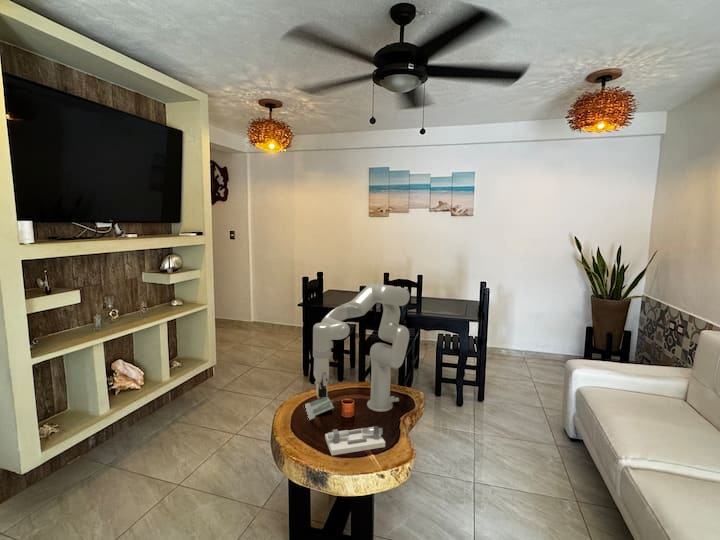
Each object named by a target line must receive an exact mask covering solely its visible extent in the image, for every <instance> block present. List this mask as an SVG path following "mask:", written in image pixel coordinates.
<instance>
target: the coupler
mask: <svg viewBox="0 0 720 540" xmlns="http://www.w3.org/2000/svg"><path fill="white" fill-rule="evenodd" d="M321 381H323V380H321ZM329 382H330V381H328V382H327V381H326V384H327V385H328V384H329ZM322 384H323V383H321V385H322ZM314 385H315V395H316V398H317V399H320V398H319V388H320V384H319V383H318V382H317V381H316V380H315V381H314ZM323 398H325V397H323ZM323 398H322V399H323Z"/></svg>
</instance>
